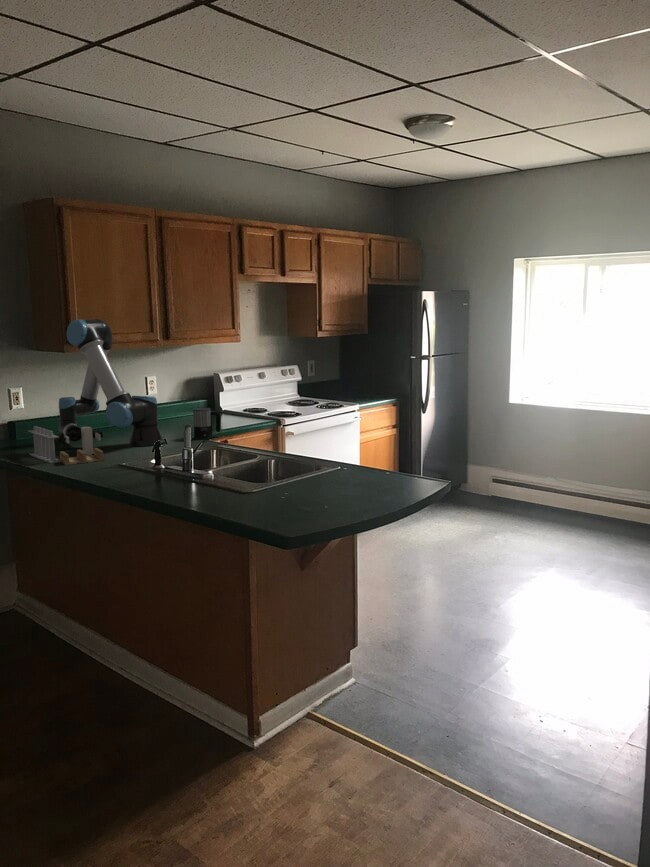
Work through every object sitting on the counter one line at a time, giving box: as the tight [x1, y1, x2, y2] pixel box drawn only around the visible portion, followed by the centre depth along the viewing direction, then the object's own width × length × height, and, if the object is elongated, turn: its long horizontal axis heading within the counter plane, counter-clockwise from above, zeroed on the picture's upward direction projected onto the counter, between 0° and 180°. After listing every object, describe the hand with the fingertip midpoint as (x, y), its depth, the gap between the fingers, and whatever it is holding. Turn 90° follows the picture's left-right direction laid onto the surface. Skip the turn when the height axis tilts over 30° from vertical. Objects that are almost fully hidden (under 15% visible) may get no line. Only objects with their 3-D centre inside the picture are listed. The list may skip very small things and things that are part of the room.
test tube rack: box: [27, 425, 62, 465], centre depth 309 cm, size 25×4×13 cm, turn 41°
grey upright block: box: [80, 426, 94, 456], centre depth 318 cm, size 4×5×12 cm
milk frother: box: [192, 407, 222, 440], centre depth 363 cm, size 14×16×15 cm
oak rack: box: [59, 447, 105, 466], centre depth 304 cm, size 16×10×4 cm, turn 122°
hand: (84, 439), depth 320 cm, fingers open, 13 cm apart
